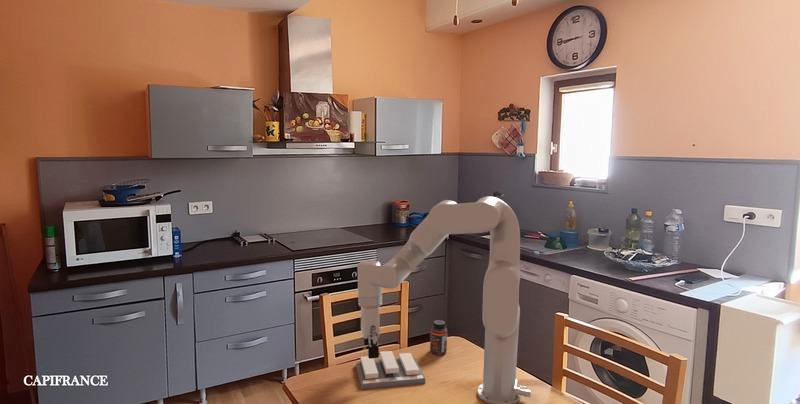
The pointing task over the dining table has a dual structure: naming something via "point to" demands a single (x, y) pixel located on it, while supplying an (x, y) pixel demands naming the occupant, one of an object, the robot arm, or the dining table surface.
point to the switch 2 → (408, 364)
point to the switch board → (388, 376)
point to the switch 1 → (369, 367)
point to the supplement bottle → (438, 338)
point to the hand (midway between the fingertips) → (371, 351)
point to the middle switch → (389, 362)
